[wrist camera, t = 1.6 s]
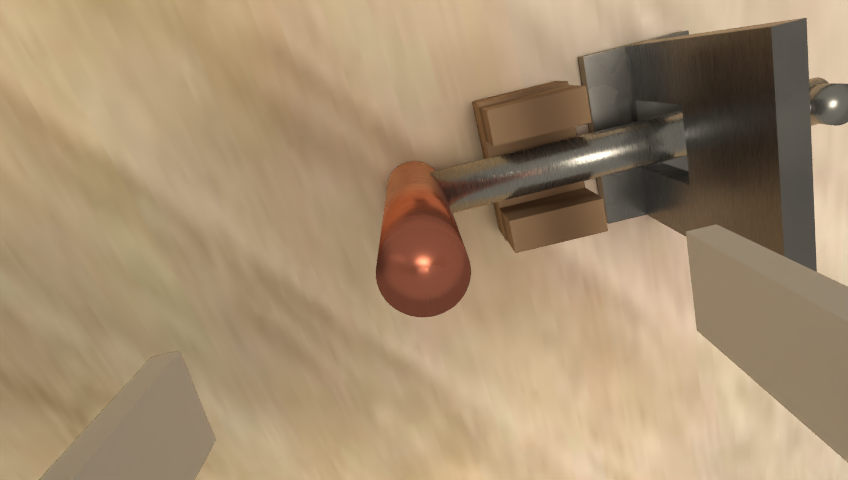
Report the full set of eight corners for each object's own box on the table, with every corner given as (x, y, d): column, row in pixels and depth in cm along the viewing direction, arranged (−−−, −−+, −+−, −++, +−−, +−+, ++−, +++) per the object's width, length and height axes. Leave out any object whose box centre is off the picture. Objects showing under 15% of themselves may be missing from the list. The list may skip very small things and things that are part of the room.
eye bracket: (602, 219, 35) (725, 307, 22) (577, 57, 32) (701, 44, 19) (696, 197, 35) (878, 271, 22) (679, 31, 32) (877, 0, 19)
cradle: (498, 229, 35) (516, 256, 30) (472, 101, 33) (485, 106, 28) (576, 210, 35) (608, 234, 30) (555, 81, 33) (585, 81, 27)
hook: (394, 219, 34) (389, 326, 19) (381, 168, 33) (364, 240, 18) (791, 123, 33) (1092, 159, 19) (789, 68, 32) (1102, 61, 18)
